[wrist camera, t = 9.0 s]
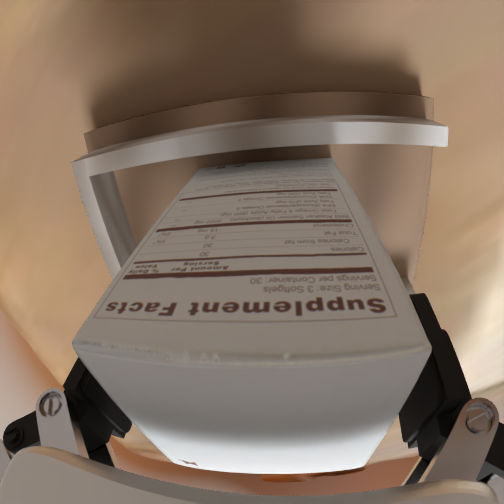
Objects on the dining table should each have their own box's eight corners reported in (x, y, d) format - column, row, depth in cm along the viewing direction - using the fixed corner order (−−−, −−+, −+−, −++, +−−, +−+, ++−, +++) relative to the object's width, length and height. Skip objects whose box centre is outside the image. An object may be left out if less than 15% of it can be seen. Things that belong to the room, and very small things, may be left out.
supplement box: (333, 269, 19) (365, 471, 8) (217, 273, 20) (166, 465, 9) (335, 153, 15) (447, 351, 4) (196, 162, 16) (57, 347, 5)
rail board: (422, 95, 13) (456, 104, 10) (402, 288, 21) (418, 325, 17) (96, 128, 16) (59, 144, 13) (150, 299, 24) (133, 334, 20)
